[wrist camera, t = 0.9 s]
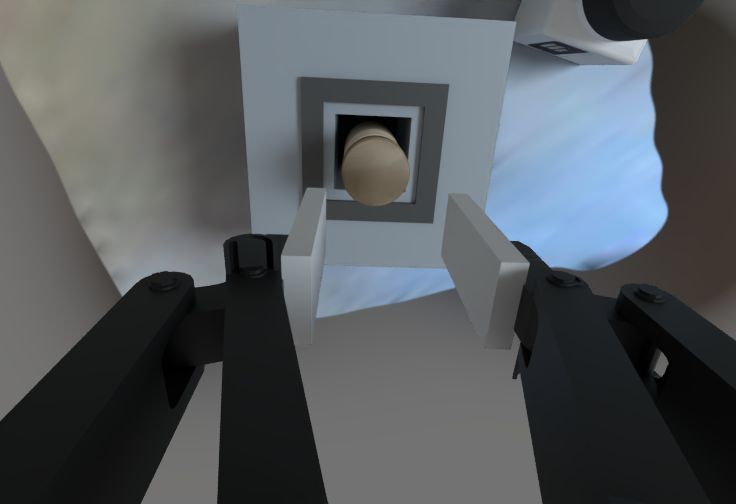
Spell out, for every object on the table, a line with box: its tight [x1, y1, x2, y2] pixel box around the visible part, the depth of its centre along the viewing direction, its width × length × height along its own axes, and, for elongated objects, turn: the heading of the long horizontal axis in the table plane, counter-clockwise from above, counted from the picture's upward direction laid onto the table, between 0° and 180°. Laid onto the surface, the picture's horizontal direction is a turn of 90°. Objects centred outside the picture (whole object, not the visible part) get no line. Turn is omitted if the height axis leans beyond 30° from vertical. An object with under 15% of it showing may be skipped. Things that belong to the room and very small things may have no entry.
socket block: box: [237, 5, 516, 269], centre depth 35 cm, size 18×18×10 cm
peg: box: [341, 121, 410, 207], centre depth 29 cm, size 4×4×9 cm
